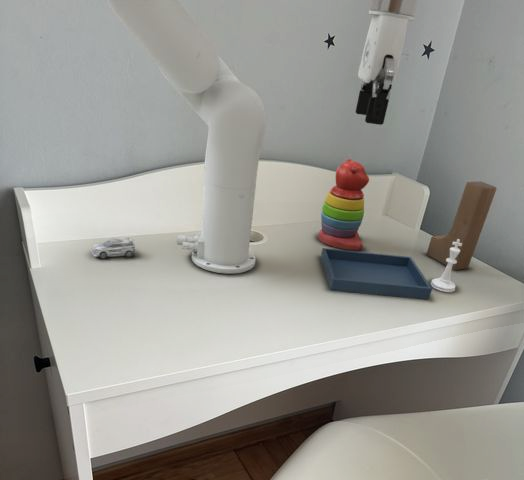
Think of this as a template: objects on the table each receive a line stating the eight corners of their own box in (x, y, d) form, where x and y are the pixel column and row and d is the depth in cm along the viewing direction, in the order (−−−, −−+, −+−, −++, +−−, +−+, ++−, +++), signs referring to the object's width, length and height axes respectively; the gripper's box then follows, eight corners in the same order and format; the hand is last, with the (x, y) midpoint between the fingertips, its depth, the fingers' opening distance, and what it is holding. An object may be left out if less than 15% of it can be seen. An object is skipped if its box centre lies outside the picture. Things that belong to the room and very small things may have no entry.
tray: (330, 290, 97) (332, 279, 96) (320, 258, 110) (322, 247, 108) (428, 299, 99) (432, 288, 97) (408, 266, 111) (411, 256, 110)
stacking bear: (363, 252, 115) (382, 170, 106) (318, 247, 115) (334, 164, 105) (356, 235, 125) (373, 158, 115) (315, 230, 124) (329, 153, 114)
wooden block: (425, 254, 119) (449, 175, 109) (439, 252, 121) (464, 174, 111) (454, 270, 113) (483, 188, 103) (468, 268, 115) (498, 187, 105)
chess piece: (456, 294, 102) (473, 246, 97) (431, 289, 103) (446, 241, 97) (453, 284, 106) (469, 237, 101) (429, 279, 107) (444, 233, 101)
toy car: (90, 251, 99) (89, 236, 97) (132, 249, 102) (132, 235, 100) (93, 259, 96) (92, 244, 94) (136, 257, 99) (136, 242, 98)
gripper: (361, 4, 92) (341, 108, 101) (382, 2, 77) (356, 124, 87) (402, 11, 93) (378, 114, 102) (430, 10, 78) (399, 130, 87)
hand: (368, 118), depth 94 cm, fingers open, 9 cm apart
